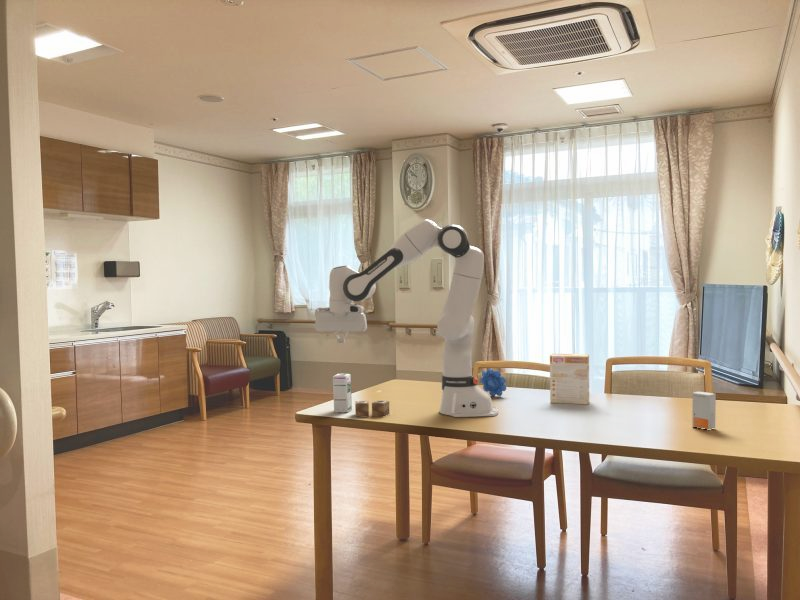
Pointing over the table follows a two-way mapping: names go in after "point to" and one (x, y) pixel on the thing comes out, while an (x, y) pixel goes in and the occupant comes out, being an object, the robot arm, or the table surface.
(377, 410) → the walnut block two
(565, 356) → the coffeecake box
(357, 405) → the walnut block one
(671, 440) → the table surface
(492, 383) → the blue gear wheel
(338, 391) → the syrup box
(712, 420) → the skincare box
